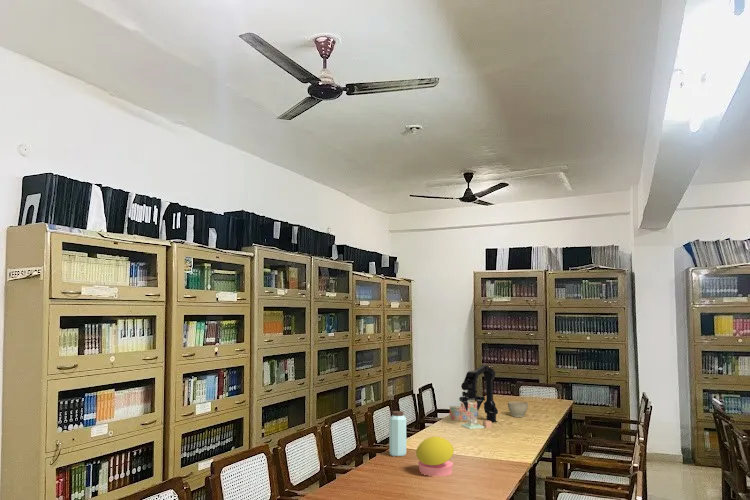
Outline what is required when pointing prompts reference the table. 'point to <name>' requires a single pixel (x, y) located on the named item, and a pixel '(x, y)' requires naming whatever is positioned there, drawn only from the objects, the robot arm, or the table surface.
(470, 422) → the cream brick
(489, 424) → the salmon pink cube
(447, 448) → the yellow egg on stand
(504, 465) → the table surface
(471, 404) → the stack of blocks
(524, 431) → the table surface
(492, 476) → the table surface
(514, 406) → the planter bowl
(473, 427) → the baseplate
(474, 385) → the robot arm
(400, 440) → the water bottle
